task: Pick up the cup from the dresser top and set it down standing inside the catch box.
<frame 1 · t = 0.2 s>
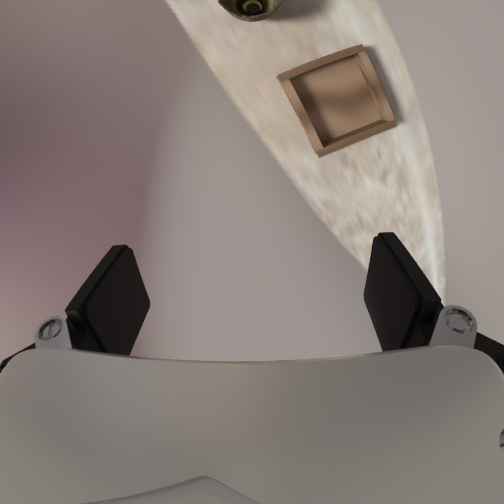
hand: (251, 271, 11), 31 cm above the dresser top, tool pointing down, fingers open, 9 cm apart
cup: (252, 8, 27), on the dresser top
catch box: (336, 98, 33), on the dresser top
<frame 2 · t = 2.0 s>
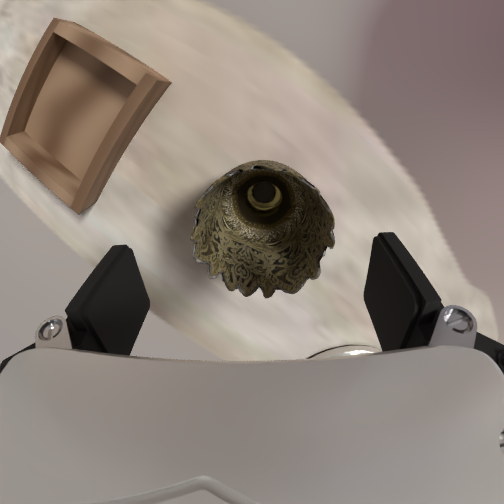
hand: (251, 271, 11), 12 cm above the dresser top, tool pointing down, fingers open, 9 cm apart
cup: (264, 191, 21), on the dresser top
catch box: (79, 108, 18), on the dresser top
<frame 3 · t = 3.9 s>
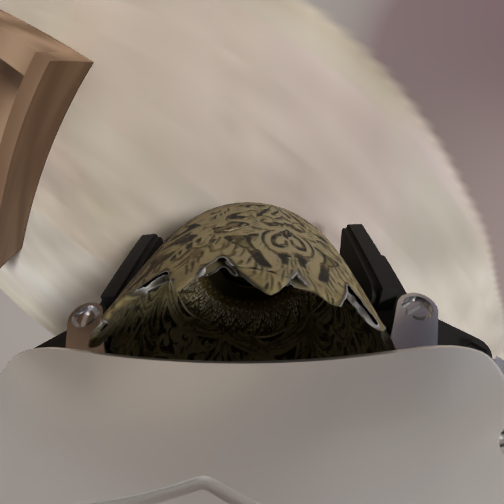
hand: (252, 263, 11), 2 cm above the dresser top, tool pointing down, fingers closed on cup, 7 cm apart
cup: (253, 238, 13), on the dresser top, touching gripper
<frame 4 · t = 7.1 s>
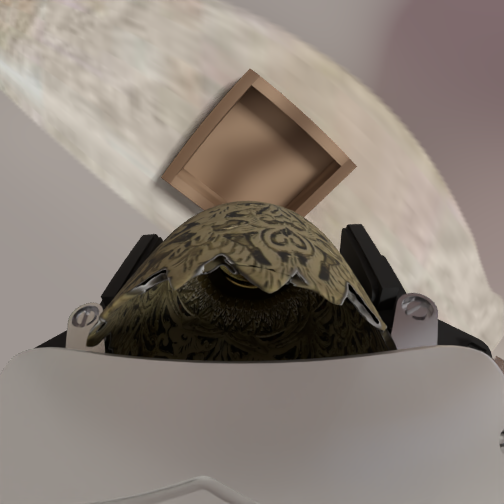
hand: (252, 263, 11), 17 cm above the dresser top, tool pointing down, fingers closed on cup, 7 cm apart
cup: (252, 238, 13), point 15 cm above the dresser top, touching gripper
catch box: (258, 160, 26), on the dresser top
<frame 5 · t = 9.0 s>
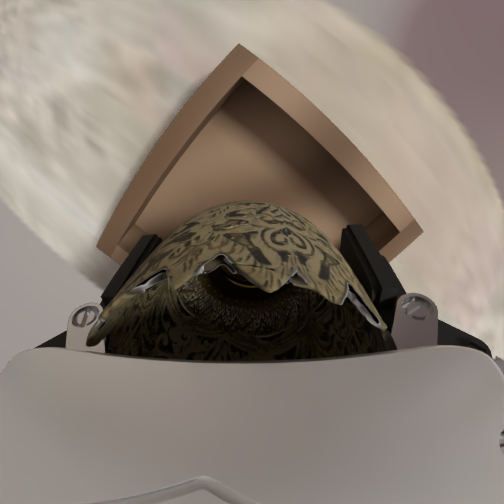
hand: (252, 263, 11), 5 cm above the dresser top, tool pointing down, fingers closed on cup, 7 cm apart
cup: (252, 237, 13), point 3 cm above the dresser top, touching gripper
catch box: (256, 211, 16), on the dresser top
when the fingers open (3 cm above the dresser top, at t = 10.4 s): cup drops 1 cm, resting on catch box.
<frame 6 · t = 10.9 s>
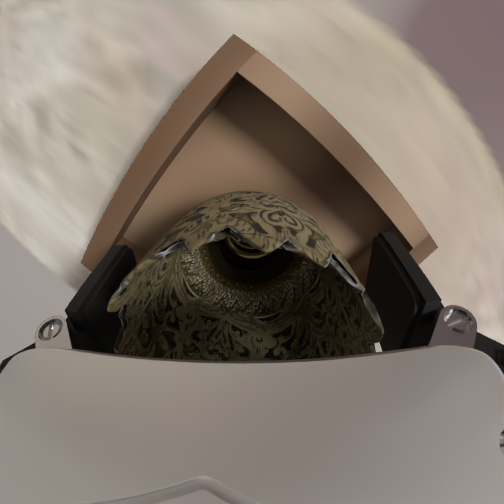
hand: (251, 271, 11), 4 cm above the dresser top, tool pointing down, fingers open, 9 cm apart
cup: (252, 227, 14), resting on catch box
catch box: (255, 223, 14), on the dresser top
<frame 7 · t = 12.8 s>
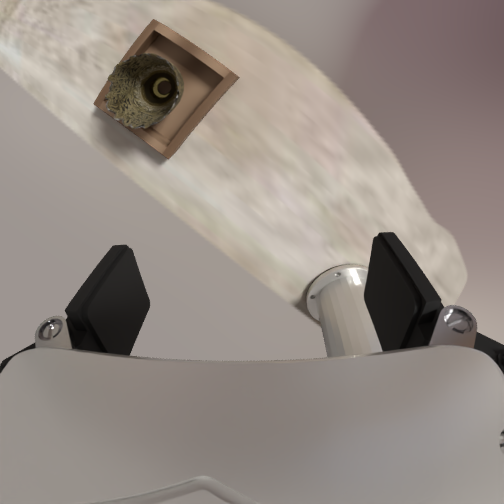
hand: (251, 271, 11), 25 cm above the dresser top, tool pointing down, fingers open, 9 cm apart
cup: (165, 87, 28), resting on catch box
catch box: (166, 86, 28), on the dresser top
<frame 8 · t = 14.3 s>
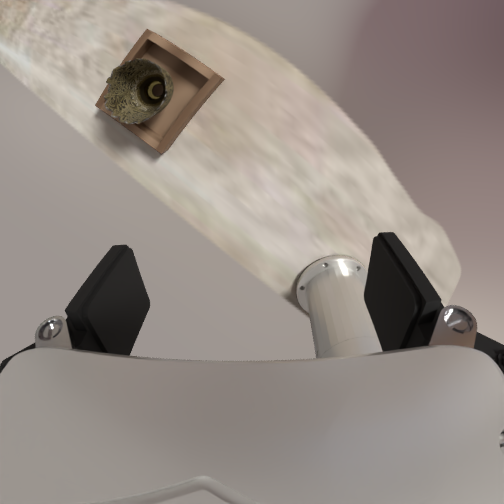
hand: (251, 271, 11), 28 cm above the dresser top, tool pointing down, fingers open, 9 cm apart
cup: (158, 90, 31), resting on catch box
catch box: (160, 89, 31), on the dresser top
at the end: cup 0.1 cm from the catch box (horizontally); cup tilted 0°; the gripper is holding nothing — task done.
